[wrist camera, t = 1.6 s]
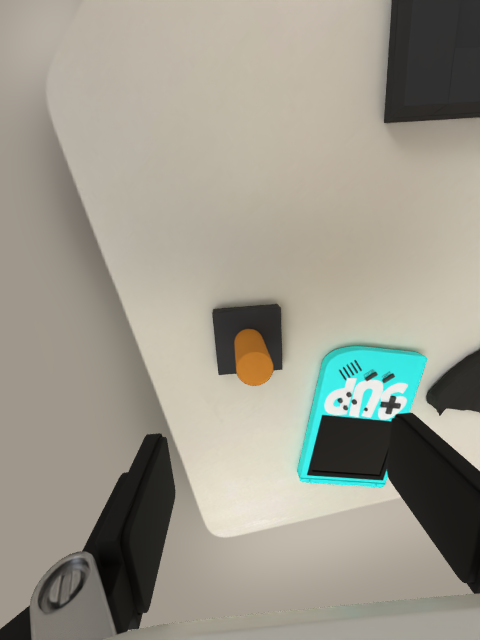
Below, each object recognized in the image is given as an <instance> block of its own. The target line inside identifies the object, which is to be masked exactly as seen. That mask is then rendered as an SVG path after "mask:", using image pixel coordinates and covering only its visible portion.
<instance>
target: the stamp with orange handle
mask: <svg viewBox="0 0 480 640" xmlns="http://www.w3.org/2000/svg"><path fill="white" fill-rule="evenodd" d="M212 314H213V324H214V334H215V344H216V354H217V363H218V373H219V375H224V374H236V373H237V375H238V377H239V379H240V380H241V381H242V382H244V383H245V384H248V385H252V386H257V385H261V384H263V383H265V382H266V381H268V380H269V378H270V377H271V375H272V373H273V370H282V337H281V308H280V306H279V305H278V304H272V305H260V306H247V307H234V308H222V309H213V313H212Z"/></svg>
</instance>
